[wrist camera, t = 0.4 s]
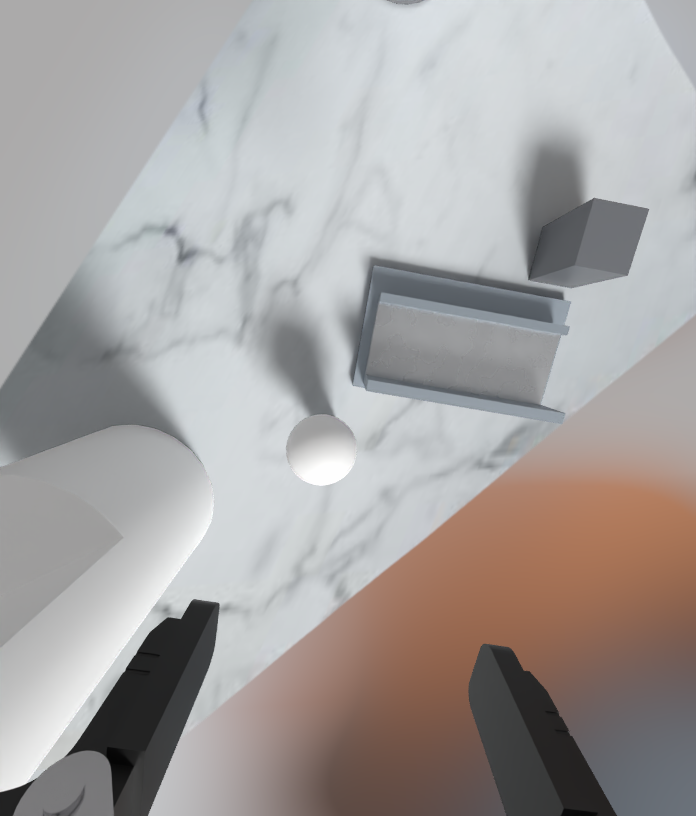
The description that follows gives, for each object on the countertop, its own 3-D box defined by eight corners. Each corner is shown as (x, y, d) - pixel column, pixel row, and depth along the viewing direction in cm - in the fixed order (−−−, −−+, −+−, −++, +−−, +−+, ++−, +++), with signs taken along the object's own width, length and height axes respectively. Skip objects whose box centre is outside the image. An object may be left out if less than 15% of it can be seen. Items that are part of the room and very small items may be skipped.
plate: (377, 304, 33) (378, 302, 32) (551, 335, 34) (560, 335, 32) (364, 373, 35) (365, 374, 33) (532, 402, 35) (540, 404, 34)
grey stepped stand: (373, 267, 33) (379, 250, 27) (564, 302, 34) (614, 294, 28) (352, 384, 36) (353, 394, 29) (531, 415, 37) (570, 431, 30)
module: (543, 225, 33) (594, 195, 26) (586, 234, 33) (649, 206, 26) (528, 280, 34) (574, 265, 27) (570, 288, 34) (627, 275, 27)
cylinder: (241, 528, 39) (-1, 967, 12) (118, 584, 41) (-353, 1092, 13) (162, 398, 36) (-422, 587, 9) (31, 464, 37) (-827, 806, 10)
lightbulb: (301, 395, 36) (282, 419, 25) (357, 401, 36) (362, 428, 25) (297, 449, 37) (277, 494, 26) (351, 455, 37) (353, 501, 27)
